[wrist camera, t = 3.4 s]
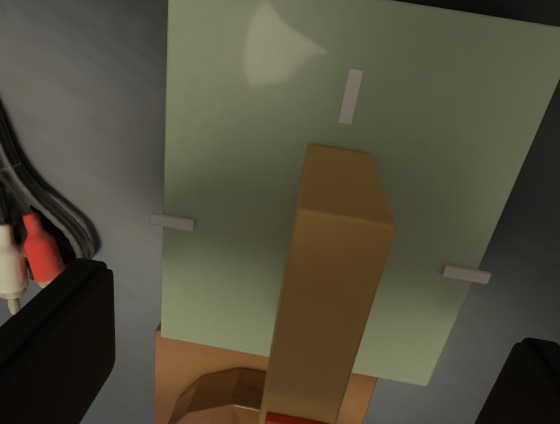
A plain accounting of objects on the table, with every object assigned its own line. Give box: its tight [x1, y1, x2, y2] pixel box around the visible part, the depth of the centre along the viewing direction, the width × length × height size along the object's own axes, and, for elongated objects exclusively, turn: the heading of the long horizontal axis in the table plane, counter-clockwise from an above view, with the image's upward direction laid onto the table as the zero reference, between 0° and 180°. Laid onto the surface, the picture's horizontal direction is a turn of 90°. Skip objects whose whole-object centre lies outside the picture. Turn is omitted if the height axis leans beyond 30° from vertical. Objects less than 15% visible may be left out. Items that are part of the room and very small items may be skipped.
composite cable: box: [0, 110, 95, 315], centre depth 15 cm, size 10×5×2 cm, turn 5°
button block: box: [154, 322, 378, 424], centre depth 18 cm, size 9×9×4 cm
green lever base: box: [150, 0, 560, 386], centre depth 14 cm, size 12×11×3 cm
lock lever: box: [258, 144, 396, 424], centre depth 10 cm, size 6×2×5 cm, turn 172°
